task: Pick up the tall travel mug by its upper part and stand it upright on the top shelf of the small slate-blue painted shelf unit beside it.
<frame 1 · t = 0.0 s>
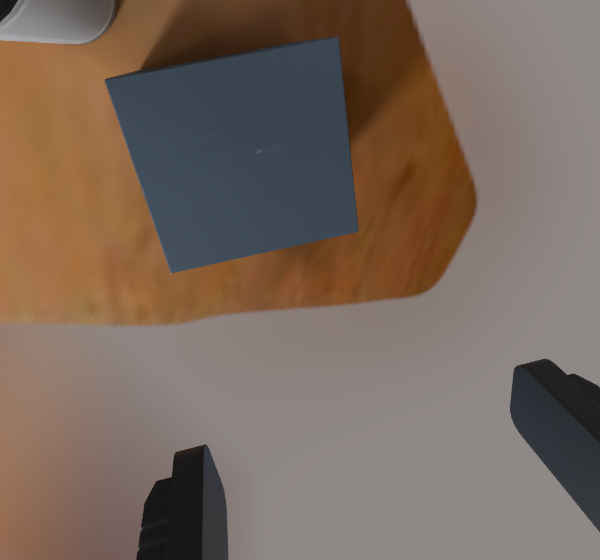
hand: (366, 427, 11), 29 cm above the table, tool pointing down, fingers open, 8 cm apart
shelf: (236, 131, 35), on the table
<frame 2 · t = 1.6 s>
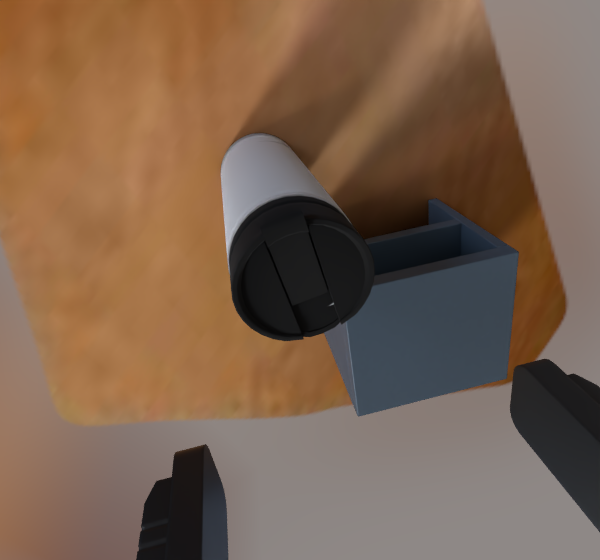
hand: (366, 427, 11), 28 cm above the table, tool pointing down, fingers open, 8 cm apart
travel mug: (259, 170, 35), on the table
shelf: (376, 266, 41), on the table
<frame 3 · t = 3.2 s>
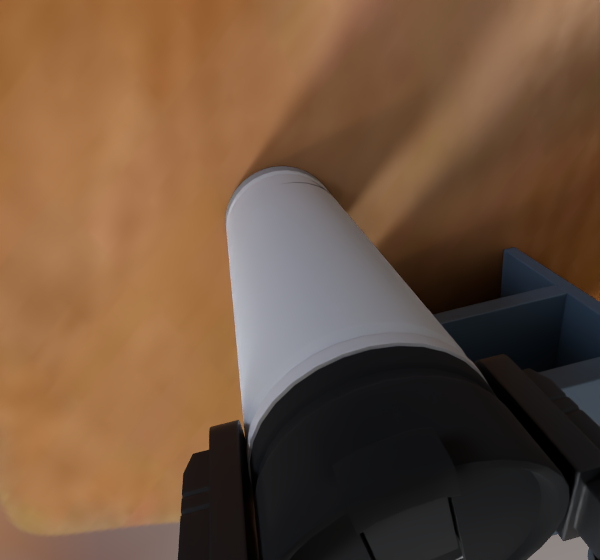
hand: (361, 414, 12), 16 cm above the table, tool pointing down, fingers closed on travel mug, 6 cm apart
travel mug: (279, 215, 25), on the table, touching gripper
shelf: (430, 334, 31), on the table
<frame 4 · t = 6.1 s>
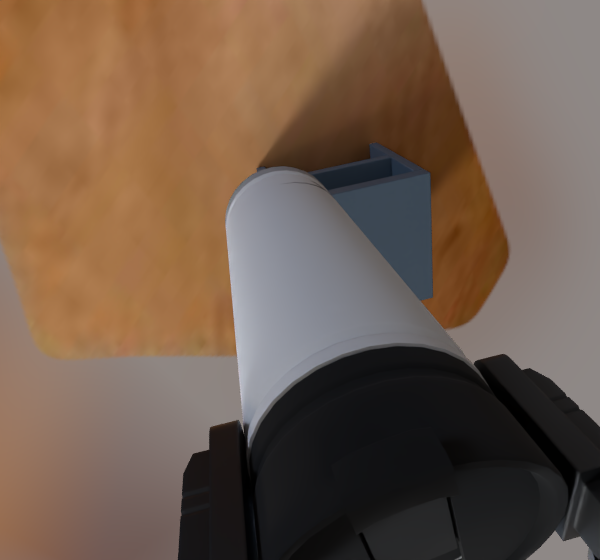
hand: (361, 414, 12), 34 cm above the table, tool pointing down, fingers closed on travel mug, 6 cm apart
travel mug: (278, 215, 25), point 18 cm above the table, touching gripper
shelf: (325, 208, 45), on the table
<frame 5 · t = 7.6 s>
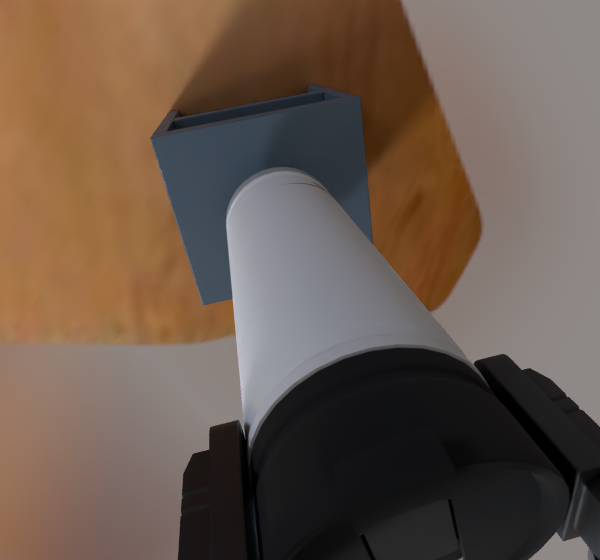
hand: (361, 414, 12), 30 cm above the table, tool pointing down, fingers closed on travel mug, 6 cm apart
travel mug: (279, 216, 25), point 14 cm above the table, touching gripper
shelf: (257, 166, 38), on the table
when the fingers open (28 cm above the table, at t = 8.8 s): travel mug stays where it is, resting on shelf.
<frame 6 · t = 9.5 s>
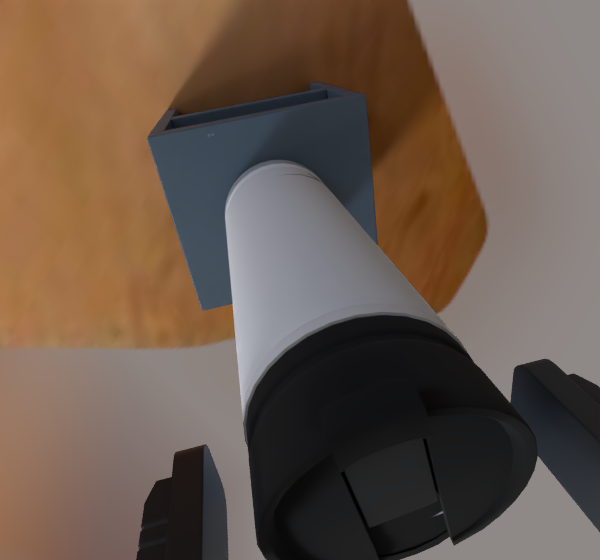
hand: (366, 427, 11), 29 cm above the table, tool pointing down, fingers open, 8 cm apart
travel mug: (276, 208, 26), point 12 cm above the table, touching shelf
shelf: (258, 165, 37), on the table
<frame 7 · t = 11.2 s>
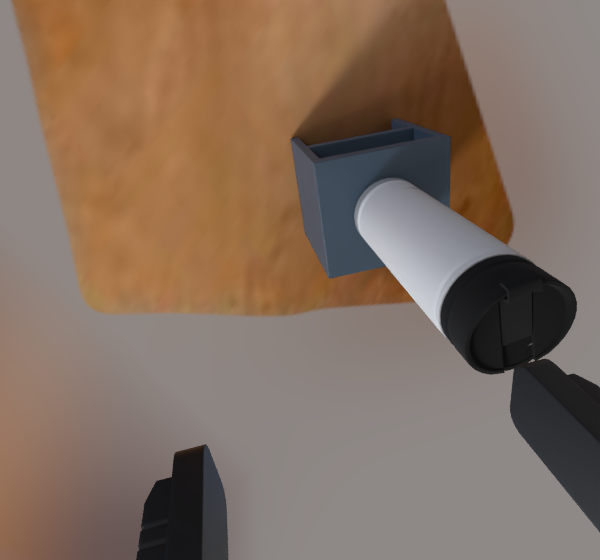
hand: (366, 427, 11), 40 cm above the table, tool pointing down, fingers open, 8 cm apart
travel mug: (385, 209, 39), point 12 cm above the table, touching shelf
shelf: (349, 178, 50), on the table
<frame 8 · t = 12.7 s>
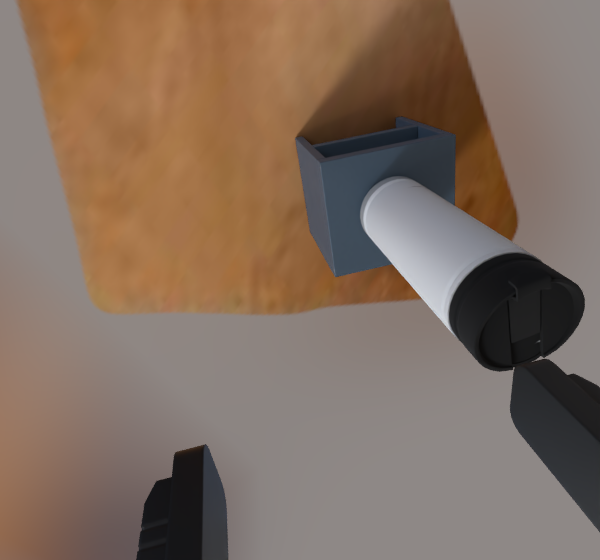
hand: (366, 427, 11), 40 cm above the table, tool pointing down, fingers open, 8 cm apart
travel mug: (391, 207, 40), point 12 cm above the table, touching shelf
shelf: (354, 176, 50), on the table
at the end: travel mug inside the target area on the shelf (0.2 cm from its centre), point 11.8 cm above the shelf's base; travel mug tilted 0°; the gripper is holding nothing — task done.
